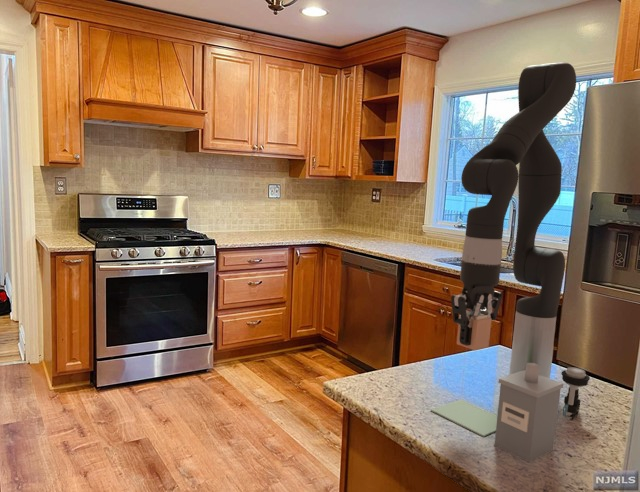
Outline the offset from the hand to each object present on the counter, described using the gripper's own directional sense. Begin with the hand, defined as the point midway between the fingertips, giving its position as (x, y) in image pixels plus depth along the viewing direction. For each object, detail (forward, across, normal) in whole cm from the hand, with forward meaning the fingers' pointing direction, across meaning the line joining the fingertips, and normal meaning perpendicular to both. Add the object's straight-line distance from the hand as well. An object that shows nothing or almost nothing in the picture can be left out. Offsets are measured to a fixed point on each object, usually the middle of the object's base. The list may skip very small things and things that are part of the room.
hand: (473, 342), depth 106 cm
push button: (+16, +19, -12) cm, 28 cm away
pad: (+16, 0, -1) cm, 16 cm away
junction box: (+16, -2, -14) cm, 21 cm away
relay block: (+1, 0, 0) cm, 1 cm away
